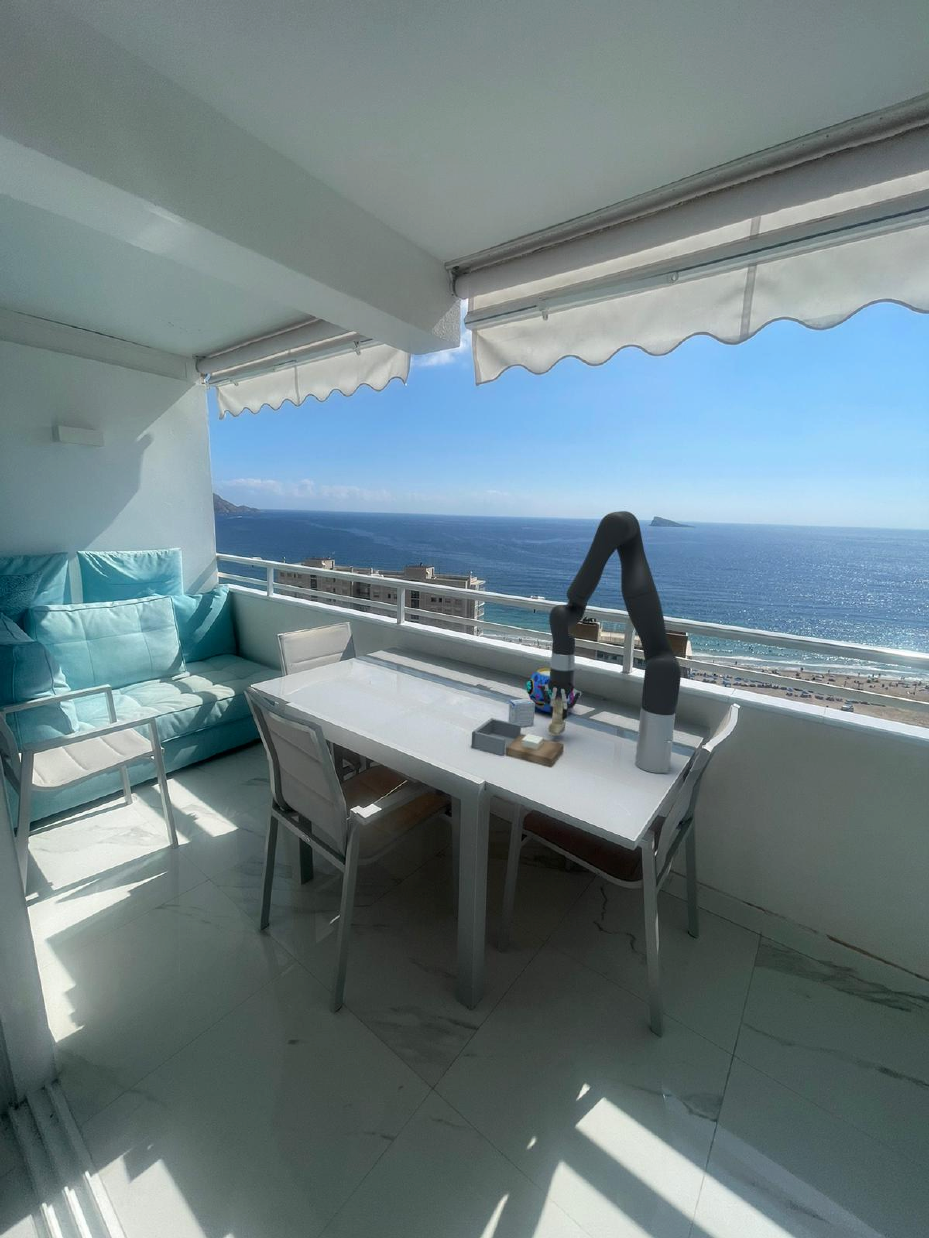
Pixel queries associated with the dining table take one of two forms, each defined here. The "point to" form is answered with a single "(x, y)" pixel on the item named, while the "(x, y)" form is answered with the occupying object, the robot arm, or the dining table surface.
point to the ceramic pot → (535, 691)
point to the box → (495, 736)
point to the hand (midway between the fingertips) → (558, 717)
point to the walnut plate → (535, 751)
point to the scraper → (557, 718)
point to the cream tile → (532, 741)
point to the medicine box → (521, 712)
